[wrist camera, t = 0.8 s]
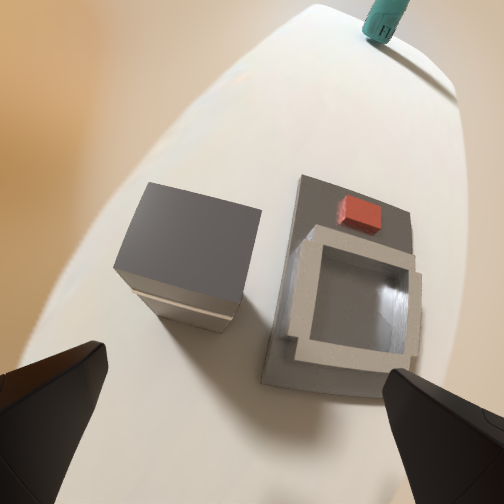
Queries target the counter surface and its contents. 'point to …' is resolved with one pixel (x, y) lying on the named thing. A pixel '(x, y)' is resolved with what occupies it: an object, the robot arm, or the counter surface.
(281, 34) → the counter surface
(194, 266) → the plug block
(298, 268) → the grey socket base
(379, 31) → the beverage bottle
